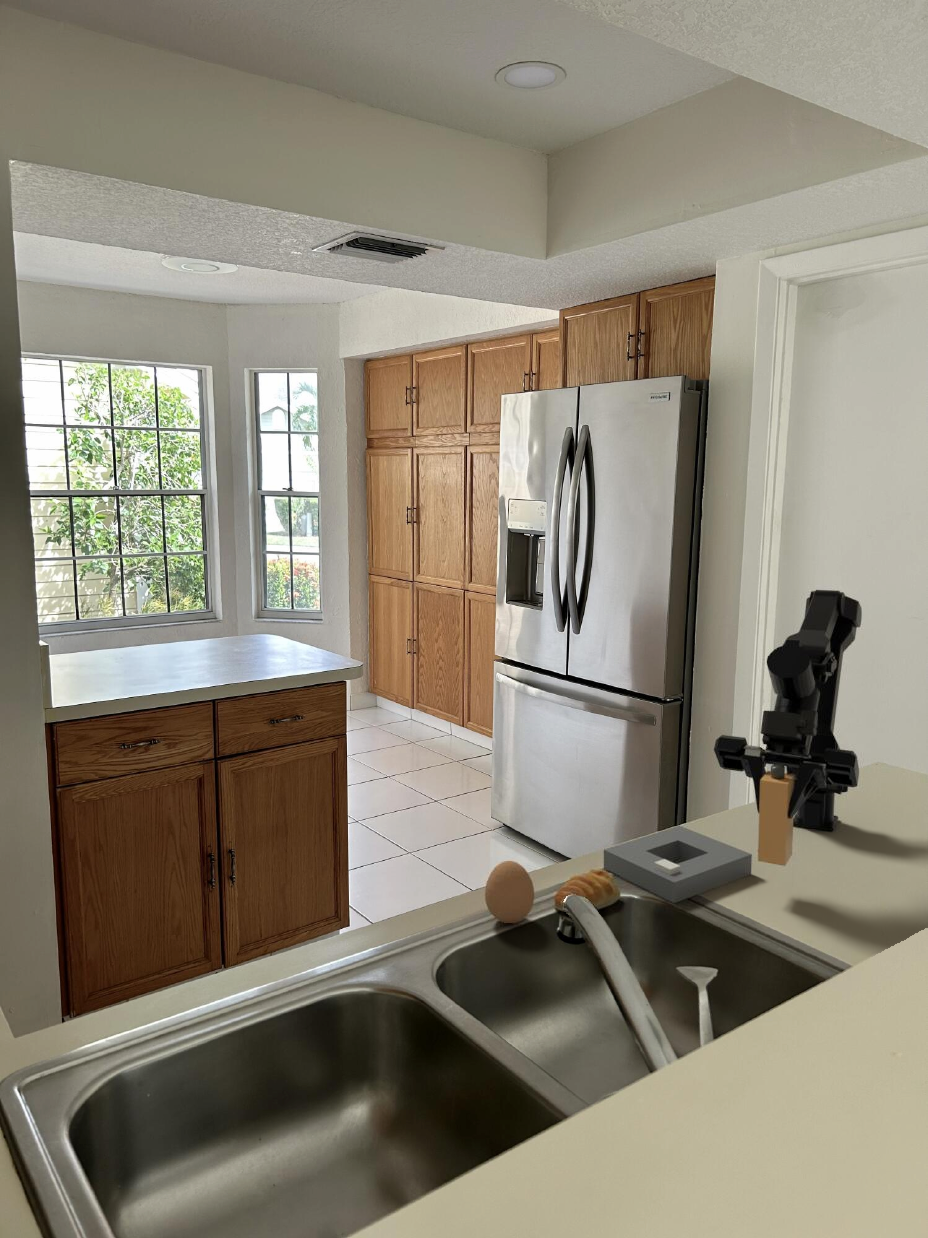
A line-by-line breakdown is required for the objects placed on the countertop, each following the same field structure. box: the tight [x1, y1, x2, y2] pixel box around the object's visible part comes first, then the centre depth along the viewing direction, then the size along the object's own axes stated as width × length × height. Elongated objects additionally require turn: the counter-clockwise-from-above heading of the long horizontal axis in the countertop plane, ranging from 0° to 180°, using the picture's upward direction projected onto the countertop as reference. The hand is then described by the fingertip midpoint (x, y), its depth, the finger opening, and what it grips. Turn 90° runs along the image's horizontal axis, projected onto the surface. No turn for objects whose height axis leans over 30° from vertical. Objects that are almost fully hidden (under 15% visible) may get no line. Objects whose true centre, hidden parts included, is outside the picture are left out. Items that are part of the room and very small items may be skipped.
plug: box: [757, 764, 795, 867], centre depth 124 cm, size 4×4×13 cm
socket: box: [603, 825, 753, 904], centre depth 133 cm, size 16×14×4 cm
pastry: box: [553, 868, 621, 912], centre depth 124 cm, size 9×7×4 cm
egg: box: [484, 860, 535, 924], centre depth 119 cm, size 6×6×8 cm
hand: (774, 815), depth 123 cm, fingers closed on plug, 4 cm apart
